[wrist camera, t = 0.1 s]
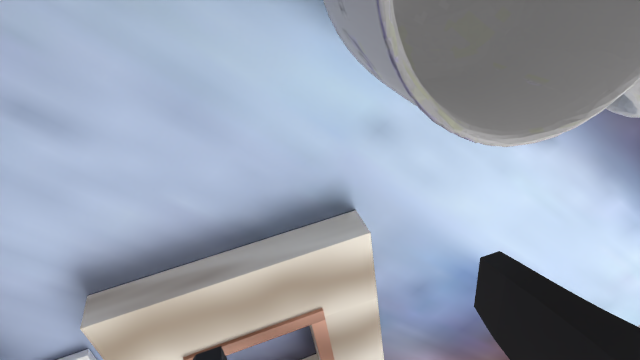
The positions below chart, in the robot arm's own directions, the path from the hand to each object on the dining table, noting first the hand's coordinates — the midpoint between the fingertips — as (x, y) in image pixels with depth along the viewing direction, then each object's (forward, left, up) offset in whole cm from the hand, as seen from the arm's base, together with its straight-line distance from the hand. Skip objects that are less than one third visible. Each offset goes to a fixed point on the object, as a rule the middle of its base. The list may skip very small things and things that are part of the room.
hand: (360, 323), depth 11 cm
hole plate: (-13, +4, -10) cm, 17 cm away
